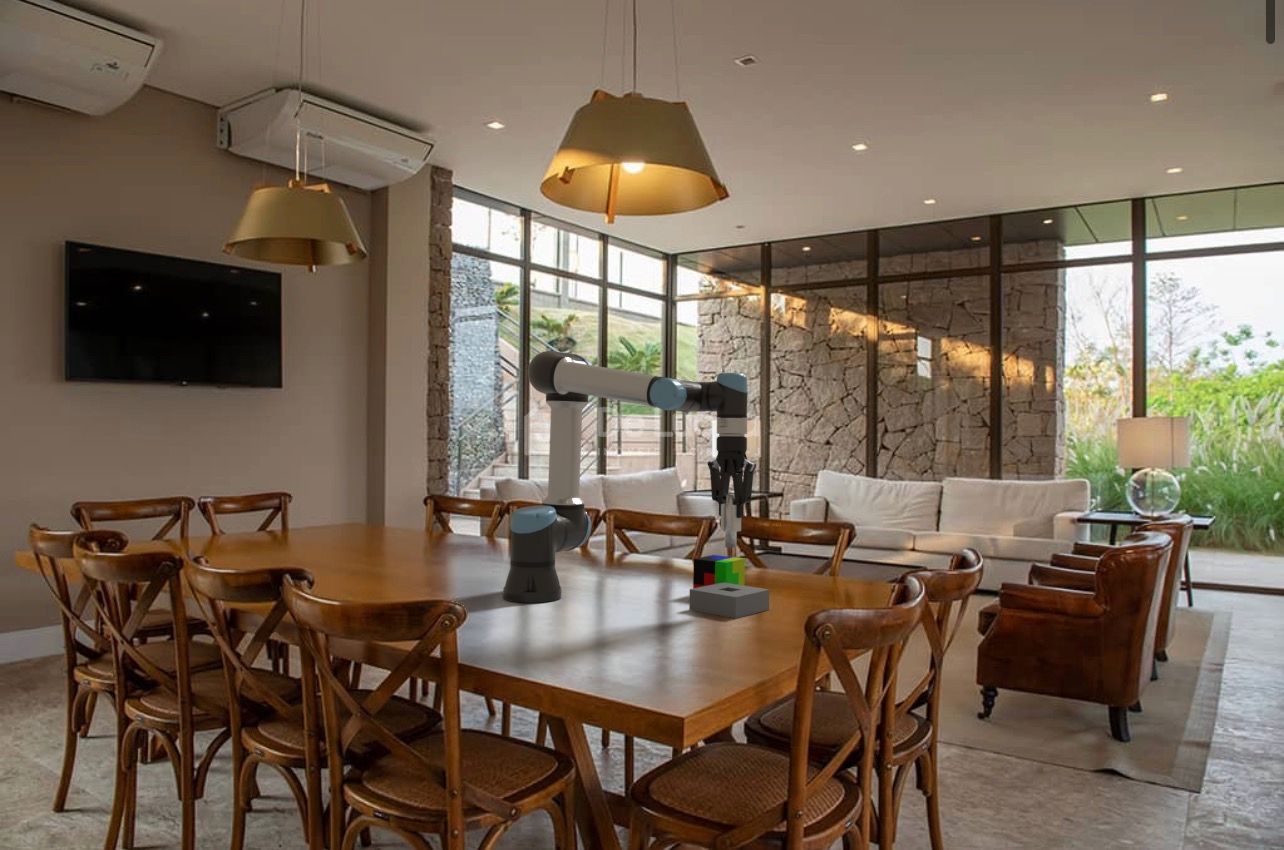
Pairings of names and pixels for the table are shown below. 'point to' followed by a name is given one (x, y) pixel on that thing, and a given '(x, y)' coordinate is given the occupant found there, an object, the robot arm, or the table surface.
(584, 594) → the table surface
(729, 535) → the pin
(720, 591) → the socket block
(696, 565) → the puzzle toy
